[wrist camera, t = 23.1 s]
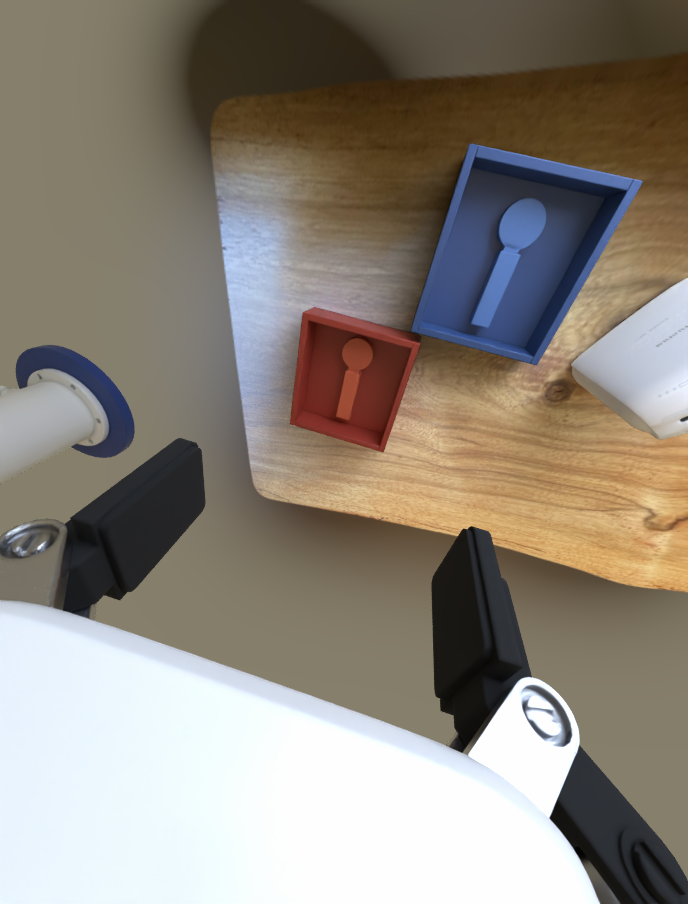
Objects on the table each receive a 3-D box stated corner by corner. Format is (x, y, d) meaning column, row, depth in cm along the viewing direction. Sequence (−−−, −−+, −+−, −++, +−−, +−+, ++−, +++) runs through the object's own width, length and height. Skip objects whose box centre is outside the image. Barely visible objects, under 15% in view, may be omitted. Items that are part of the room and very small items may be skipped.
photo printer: (692, 264, 24) (893, 272, 13) (722, 304, 24) (932, 340, 14) (559, 364, 29) (630, 423, 19) (587, 393, 30) (669, 465, 20)
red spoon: (357, 417, 36) (355, 422, 35) (332, 409, 37) (329, 414, 35) (377, 340, 31) (375, 344, 30) (347, 332, 31) (344, 335, 30)
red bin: (299, 411, 38) (289, 424, 35) (314, 306, 31) (302, 312, 28) (386, 437, 37) (383, 452, 34) (421, 335, 30) (420, 344, 28)
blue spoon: (494, 327, 28) (497, 331, 27) (460, 319, 28) (461, 321, 27) (551, 205, 23) (557, 202, 22) (508, 195, 23) (513, 192, 22)
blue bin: (412, 324, 30) (410, 331, 27) (464, 156, 23) (469, 142, 20) (526, 354, 29) (537, 365, 26) (616, 190, 22) (643, 181, 19)
